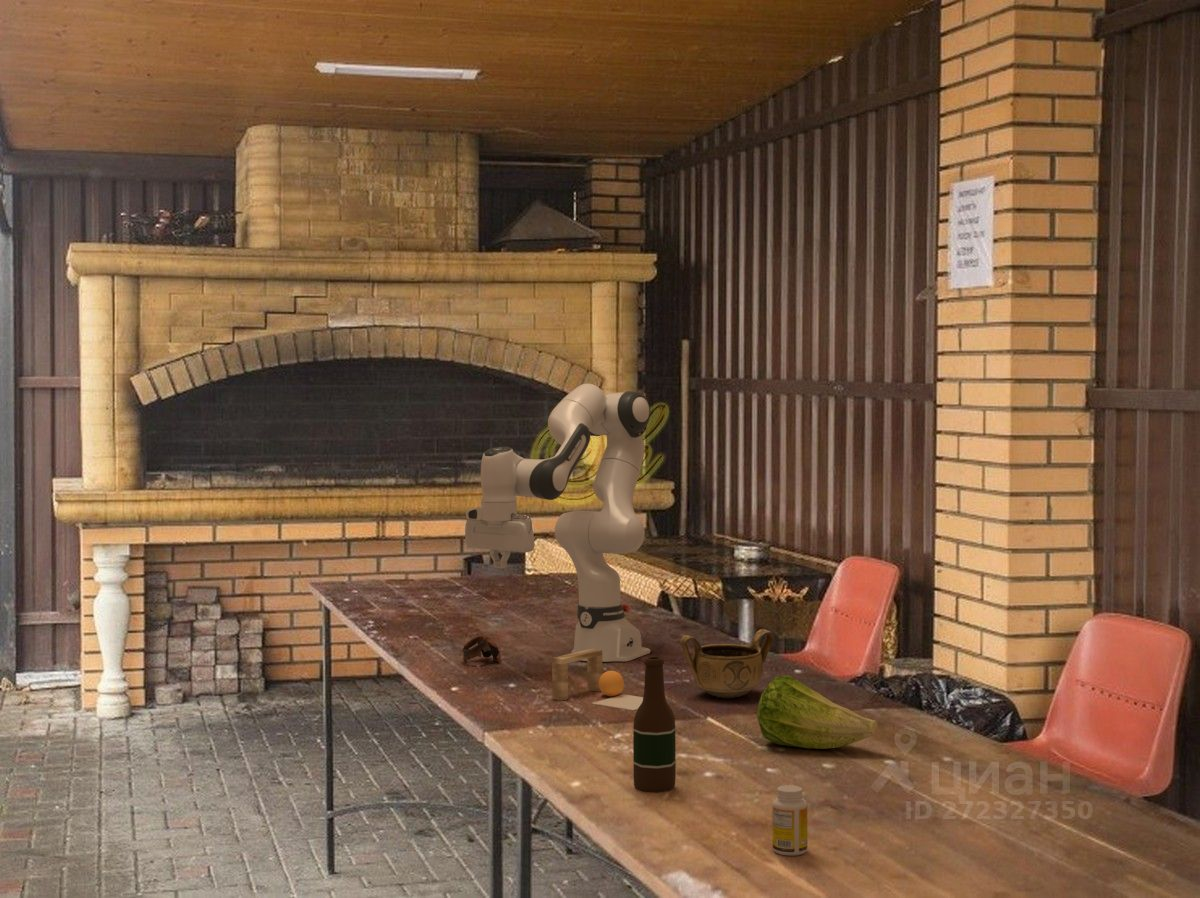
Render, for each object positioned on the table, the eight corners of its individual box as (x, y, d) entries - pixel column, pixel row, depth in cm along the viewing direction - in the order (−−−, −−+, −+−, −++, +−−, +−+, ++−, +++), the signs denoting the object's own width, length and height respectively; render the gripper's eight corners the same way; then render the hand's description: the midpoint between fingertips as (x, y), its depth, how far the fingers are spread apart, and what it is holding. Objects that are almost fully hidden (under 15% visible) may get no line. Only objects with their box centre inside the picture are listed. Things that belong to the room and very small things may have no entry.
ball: (609, 690, 375) (608, 665, 374) (629, 694, 372) (628, 669, 371) (593, 697, 371) (592, 672, 370) (614, 701, 367) (613, 676, 366)
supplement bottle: (801, 845, 255) (801, 782, 254) (812, 855, 249) (812, 791, 249) (767, 847, 254) (768, 784, 253) (777, 858, 248) (778, 793, 248)
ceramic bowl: (757, 686, 382) (757, 624, 381) (786, 700, 365) (786, 635, 365) (670, 692, 375) (670, 629, 375) (695, 706, 359) (695, 641, 358)
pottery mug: (503, 668, 409) (487, 642, 407) (471, 683, 410) (455, 657, 408) (507, 648, 420) (491, 623, 418) (476, 663, 422) (460, 638, 420)
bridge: (552, 699, 368) (552, 657, 367) (592, 688, 380) (592, 648, 379) (562, 700, 366) (562, 659, 365) (602, 690, 378) (602, 649, 377)
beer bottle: (631, 782, 294) (630, 654, 293) (672, 781, 295) (672, 653, 294) (635, 793, 286) (635, 662, 285) (678, 792, 287) (678, 661, 286)
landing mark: (623, 695, 372) (623, 694, 372) (664, 701, 364) (664, 700, 364) (591, 703, 362) (591, 703, 362) (633, 710, 355) (633, 709, 355)
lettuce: (889, 752, 320) (860, 775, 308) (780, 729, 333) (747, 750, 320) (892, 683, 318) (863, 704, 305) (782, 663, 330) (749, 681, 318)
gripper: (539, 513, 389) (540, 569, 390) (477, 509, 401) (478, 563, 402) (522, 516, 384) (523, 572, 385) (460, 511, 396) (461, 566, 397)
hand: (500, 567), depth 394 cm, fingers closed
